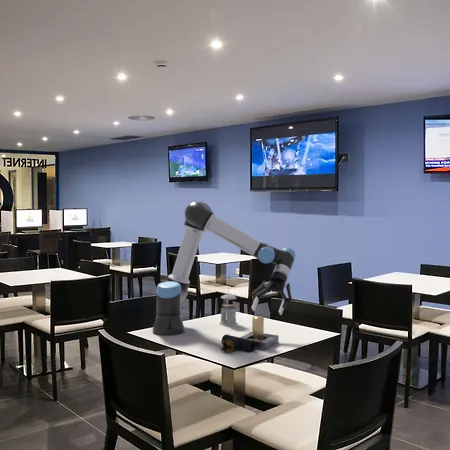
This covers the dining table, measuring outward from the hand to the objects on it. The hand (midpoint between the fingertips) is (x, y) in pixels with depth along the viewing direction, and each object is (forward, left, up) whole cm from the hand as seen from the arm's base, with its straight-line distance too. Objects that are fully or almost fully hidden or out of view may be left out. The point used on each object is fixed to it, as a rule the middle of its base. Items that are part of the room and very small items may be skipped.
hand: (266, 311), depth 235 cm
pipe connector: (-4, -24, -13) cm, 28 cm away
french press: (-30, +20, -13) cm, 38 cm away
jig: (+1, -10, -13) cm, 16 cm away
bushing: (+1, -10, -13) cm, 16 cm away
